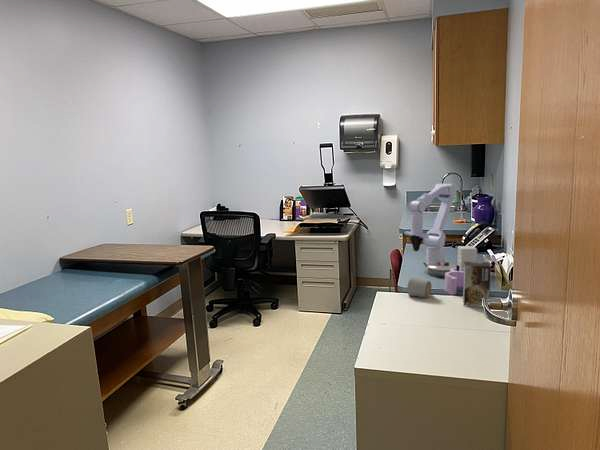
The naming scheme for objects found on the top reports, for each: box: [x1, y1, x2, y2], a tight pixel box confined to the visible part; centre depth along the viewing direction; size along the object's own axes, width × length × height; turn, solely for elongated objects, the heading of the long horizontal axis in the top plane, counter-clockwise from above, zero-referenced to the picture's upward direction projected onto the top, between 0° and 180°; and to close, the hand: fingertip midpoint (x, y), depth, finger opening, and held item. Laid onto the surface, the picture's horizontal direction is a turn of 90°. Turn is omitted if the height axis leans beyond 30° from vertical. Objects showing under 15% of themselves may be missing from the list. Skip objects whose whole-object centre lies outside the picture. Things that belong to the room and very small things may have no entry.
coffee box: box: [462, 261, 492, 308], centre depth 164 cm, size 9×6×16 cm
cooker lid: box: [426, 261, 457, 271], centre depth 209 cm, size 14×14×2 cm
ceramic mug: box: [406, 276, 432, 299], centre depth 177 cm, size 11×8×8 cm
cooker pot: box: [424, 262, 460, 279], centre depth 209 cm, size 14×18×4 cm
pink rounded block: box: [444, 268, 464, 296], centre depth 185 cm, size 20×12×7 cm, turn 162°
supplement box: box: [457, 245, 478, 271], centre depth 212 cm, size 7×7×13 cm
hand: (416, 250), depth 220 cm, fingers closed
